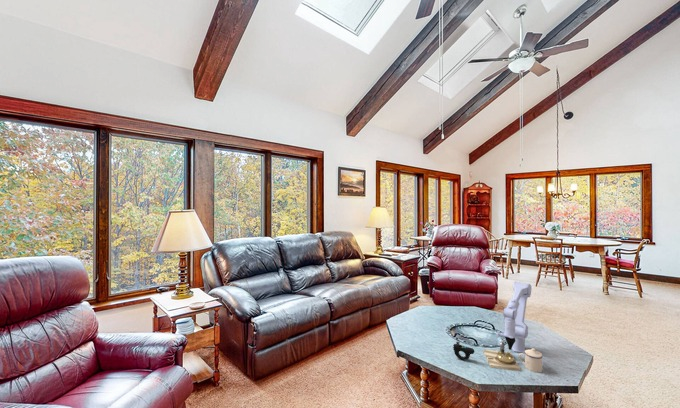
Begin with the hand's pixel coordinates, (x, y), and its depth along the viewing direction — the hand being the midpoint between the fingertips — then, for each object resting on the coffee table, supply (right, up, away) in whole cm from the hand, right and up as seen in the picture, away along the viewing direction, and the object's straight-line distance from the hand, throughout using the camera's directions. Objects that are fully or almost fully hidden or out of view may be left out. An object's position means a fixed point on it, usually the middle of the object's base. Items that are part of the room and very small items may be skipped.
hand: (510, 349), depth 189 cm
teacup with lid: (+6, -6, -11) cm, 14 cm away
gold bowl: (-6, -4, -4) cm, 8 cm away
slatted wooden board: (-8, -6, -3) cm, 10 cm away
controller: (-30, -6, -2) cm, 30 cm away
